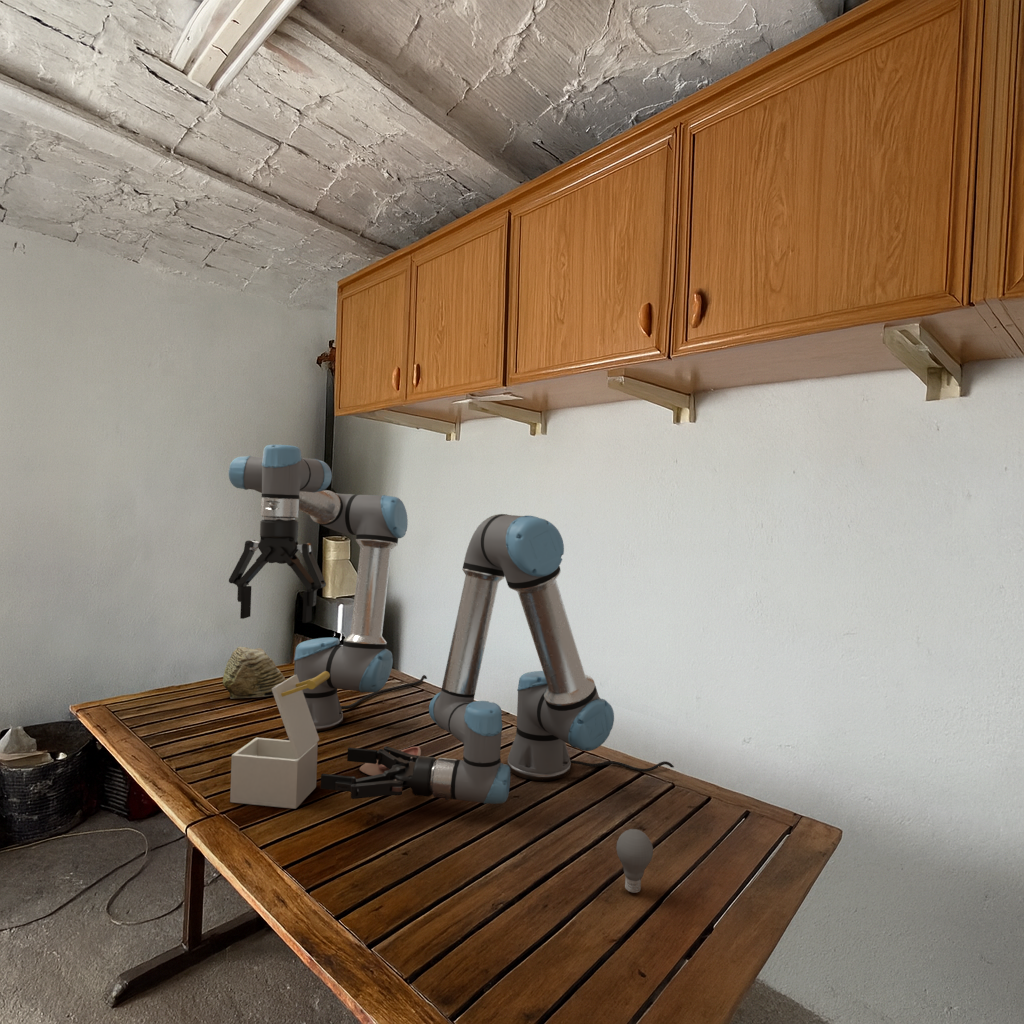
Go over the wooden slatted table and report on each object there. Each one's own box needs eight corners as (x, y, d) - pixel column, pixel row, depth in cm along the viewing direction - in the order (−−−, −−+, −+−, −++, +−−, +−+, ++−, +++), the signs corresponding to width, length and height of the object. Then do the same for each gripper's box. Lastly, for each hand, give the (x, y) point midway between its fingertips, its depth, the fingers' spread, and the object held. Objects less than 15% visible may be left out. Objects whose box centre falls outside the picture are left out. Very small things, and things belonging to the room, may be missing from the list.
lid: (271, 688, 128) (309, 675, 127) (293, 675, 138) (328, 663, 137) (295, 759, 128) (334, 746, 127) (316, 741, 138) (351, 729, 137)
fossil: (218, 695, 195) (220, 647, 195) (278, 685, 208) (279, 640, 207) (228, 703, 189) (230, 653, 188) (289, 692, 201) (290, 645, 201)
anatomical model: (354, 757, 144) (374, 739, 156) (353, 774, 145) (374, 755, 156) (409, 764, 142) (426, 745, 153) (408, 782, 142) (425, 762, 153)
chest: (229, 802, 130) (231, 755, 130) (254, 781, 140) (256, 737, 139) (295, 808, 128) (297, 761, 128) (316, 787, 138) (317, 742, 138)
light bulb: (610, 879, 108) (613, 822, 108) (644, 879, 109) (647, 822, 109) (619, 902, 102) (622, 840, 102) (655, 901, 103) (658, 840, 103)
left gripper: (213, 516, 130) (209, 619, 131) (329, 522, 128) (325, 626, 128) (233, 515, 138) (229, 612, 138) (343, 521, 135) (339, 620, 136)
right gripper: (416, 826, 117) (308, 813, 120) (447, 769, 142) (357, 760, 145) (418, 785, 117) (309, 774, 120) (449, 736, 142) (358, 728, 145)
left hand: (275, 619), depth 133 cm, fingers open, 13 cm apart
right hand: (335, 766), depth 132 cm, fingers open, 13 cm apart
